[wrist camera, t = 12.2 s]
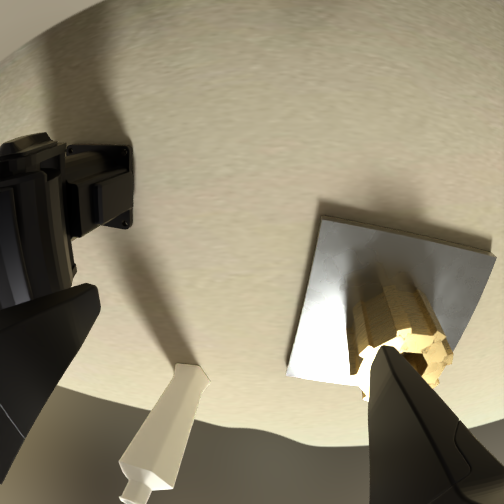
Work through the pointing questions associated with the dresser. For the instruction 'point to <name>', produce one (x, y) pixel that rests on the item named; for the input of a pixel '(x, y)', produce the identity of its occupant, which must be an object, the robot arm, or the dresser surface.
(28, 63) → the dresser surface
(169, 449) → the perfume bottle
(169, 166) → the dresser surface
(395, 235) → the carrier plate
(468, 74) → the dresser surface
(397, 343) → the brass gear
